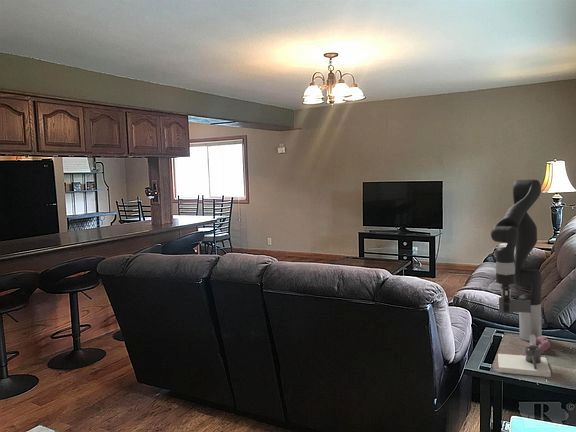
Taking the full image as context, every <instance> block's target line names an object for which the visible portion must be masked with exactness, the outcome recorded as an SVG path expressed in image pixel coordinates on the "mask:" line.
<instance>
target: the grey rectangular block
mask: <svg viewBox="0 0 576 432" xmlns="http://www.w3.org/2000/svg"><path fill="white" fill-rule="evenodd" d="M505 301H508V299H505ZM498 312H499V313H500V314H503V315H506V314H507V315H511V314H514V313H519V312H524V313H531V300H521V299H519V298H518V299H515V298H514V297H511V298H510V304H509V313H505V312H504V306H503V298H502V296H499V297H498Z"/></svg>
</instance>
